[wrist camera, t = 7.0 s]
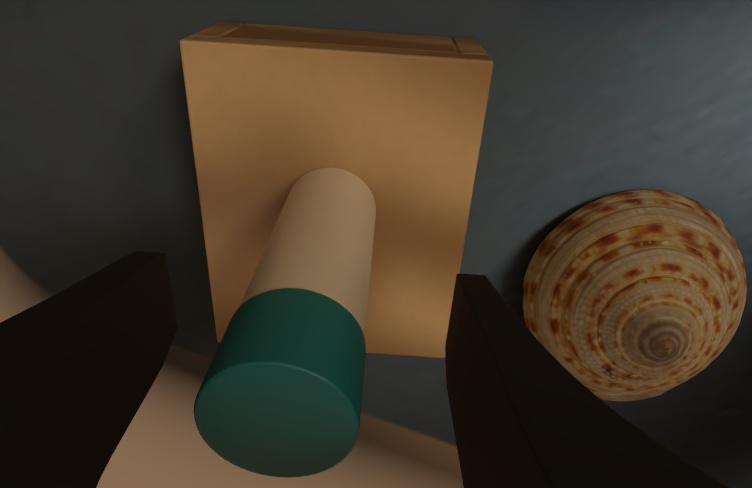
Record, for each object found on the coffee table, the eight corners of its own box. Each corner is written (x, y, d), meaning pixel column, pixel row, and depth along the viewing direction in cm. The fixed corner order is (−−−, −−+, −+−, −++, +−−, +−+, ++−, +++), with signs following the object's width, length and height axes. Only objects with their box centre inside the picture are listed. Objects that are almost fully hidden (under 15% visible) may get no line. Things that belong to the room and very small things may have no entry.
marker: (375, 250, 16) (355, 484, 9) (287, 244, 16) (202, 472, 9) (380, 167, 15) (362, 370, 8) (284, 161, 15) (182, 357, 8)
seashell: (507, 418, 21) (562, 326, 15) (495, 299, 25) (535, 181, 18) (713, 427, 21) (859, 337, 15) (671, 305, 24) (775, 188, 18)
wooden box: (439, 299, 21) (445, 359, 18) (242, 285, 21) (216, 343, 18) (477, 38, 16) (495, 60, 13) (219, 21, 16) (177, 39, 13)
